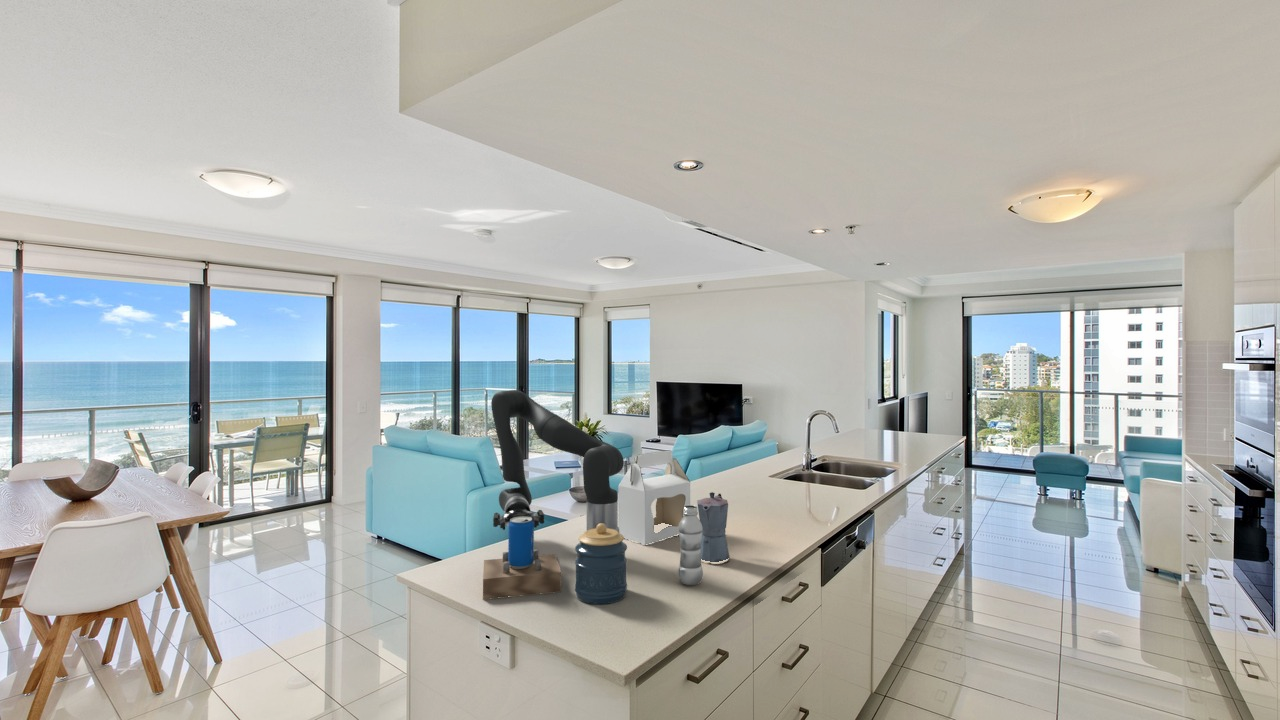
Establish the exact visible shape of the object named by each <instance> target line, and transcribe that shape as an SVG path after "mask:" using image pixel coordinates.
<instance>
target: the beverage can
mask: <svg viewBox="0 0 1280 720" xmlns="http://www.w3.org/2000/svg"><path fill="white" fill-rule="evenodd" d="M534 536H535V528H534V522H533V521H532V518H531V517H525V516H522V517H514V518H512V519H510V523H509V526H508V543H507V544H508V547H507V552H508V562H510V566H511V567H512V568H515V569H523V568H527V567H530V566H531V564H533V562H534V548H535V547H534V545H535V542H534V541H535V538H534Z"/></svg>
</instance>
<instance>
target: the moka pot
mask: <svg viewBox="0 0 1280 720" xmlns="http://www.w3.org/2000/svg"><path fill="white" fill-rule="evenodd" d="M696 501H697V502H696V504H697V512H698V519H699V520H700V522H701V524H702V527H703V529H702V538H701V548H700V549H701V552H700V554H701V559H702V560H705V561H710V562H719V561H723V560H726V559H728V558H729V559H730V553H729V552H730V551H729V548H728V542H727V541H728V540H727V535H726V528H727V522H728V521H727V520H728V513H729V512H728V510H729V502H728V499H725V498H723V497H722V494H721V493H718V494H717V495H715V492H713V491H711V492H709V497H703V498H701V499H698V500H696Z"/></svg>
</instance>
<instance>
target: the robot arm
mask: <svg viewBox="0 0 1280 720" xmlns="http://www.w3.org/2000/svg"><path fill="white" fill-rule="evenodd" d="M490 404H491V405H490V406H491V413H492V417H493V422H494V426H495V430H496V435H497V438H498V439H497V440H498V443H499V448H500V455H501V468H502V478H503V480H504V481H505V482H509V483H517V484H518V486H519V487H511V488H505V489H502V490H501V492H500V493H499V496H498V503H499V506H500V508H501V509H502V511H503V512H504V514H502V515H501V514H500V513H498V512H494V514H493V517H492V518H493V519H492V520H493V523H492V524H493V525H492V526H493V527H494V528H497V527H498V526H499V529H502V530H503V531H506V527H509V523H510V519H512V518H514V517H522V516H525V517H531V518H532V521H533V522H534V529H535V528H537V527H538V526H540V524H542V525H543V524H545V513H544V511H543V510H542V509H538V510H537V511H536V512H533V511H532V510H531V507H530V505H531V504H532V502H533V501H532V500H533V497H532V494H531V491H530V487H529V486H528V483H527V480H526V479H527V478H526V475H525V466H524V465H525V464H524V463H525V461H524V454H523V451H522V448H521V446H520V445H519V443H518V441H517V439H516V438H515V437H514V436H515V435H514V433H513V432H512V431H513V430H512V428H511V418H519V419H523V420H525V421H526V422H528V423H529V424H530V425H532V426H533V429H534V431H535V434H536V435H537V437H538V438H539V439H540V440H541V441H542V442H544V443H546V444H547V445H549V447H552V448H554V449H556V450H559V451H561V452H562V451H563V452H566V453H569V454H572V455H577V456H580V457H582V458H583V461H582V476H583V479H582V481H583V489H584V493H585V496H586V531H587V530H590V529H596V526H597V525H598V524H599V523H603V524H605V525H606V528H609V529H614V530H616V531H618V533H619V527H618V491H617V490H616V489H614V488H611V485H610V477H613V476H615V475H617V474H619V473H620V472H621V471H622V469H623V468H624V464H625V462H624V457H623V454H622V452H621V451H620V450H619V449H618V448H617V447H615V446H614V445H612V444H610V443H607V442H606V441H603V440H600V439H598V438H597V437H594V436H593V435H590V434H588V432H585V431H584V430H583V429H581V428H579V427H578V426H576V425H574V424H573V423H571V422H569V420H566V419H565V418H563V417H561V416H559V415H558V414H555V413H554V412H552V411H551V410H549V409H547V408H546V407H544V406H543V405H540V404H539V403H537V402H536V401H535V400H533V398H531V397H530V396H529V395H527V394H526V393H525V392H523V391H522V390H518V389H511V390H500V391H497V392H496V393H494V394H493V396H492V398H491V403H490Z"/></svg>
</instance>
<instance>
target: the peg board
mask: <svg viewBox="0 0 1280 720" xmlns="http://www.w3.org/2000/svg"><path fill="white" fill-rule="evenodd" d="M539 551H540V549H534V562H533V564H531V566H530V567H527V568H523V569H515V568H512V567H511V566H510V562H508V551H503V552H502V558H495V559H483V573H482V574H483V575H482V600H483V599H485V600H491V599H490V598H495V599H499V598H498V597H505V598H509V597H508V596H515V597H521V596H520V595H525V596H534V595H533V594H535V595H541V594H540V593H545V594H552V593H553V592H555V593H561V592H562V571H561V568H560V564H559V561H558V558H557V556H556V554H554V553H553V554H541V555H539V553H540V552H539Z"/></svg>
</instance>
